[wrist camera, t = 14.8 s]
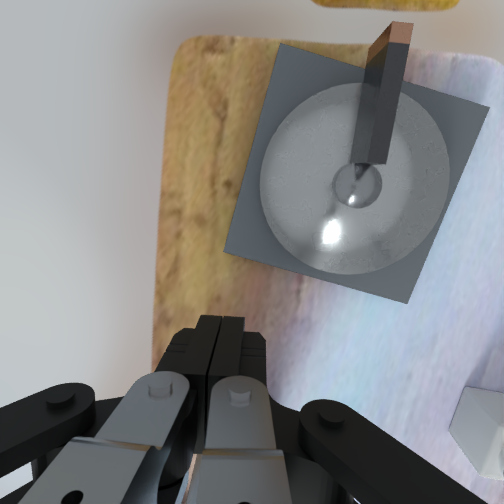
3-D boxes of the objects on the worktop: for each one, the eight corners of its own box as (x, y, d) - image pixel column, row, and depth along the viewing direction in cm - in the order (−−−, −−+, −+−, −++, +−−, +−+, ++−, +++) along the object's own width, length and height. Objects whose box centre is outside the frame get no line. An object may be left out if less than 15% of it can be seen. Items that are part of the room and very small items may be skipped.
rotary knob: (419, 279, 38) (456, 305, 31) (250, 260, 39) (247, 281, 31) (469, 65, 33) (528, 36, 26) (275, 43, 33) (278, 8, 26)
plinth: (400, 297, 42) (407, 304, 39) (225, 248, 41) (223, 252, 39) (477, 110, 37) (491, 107, 34) (279, 49, 36) (280, 42, 34)
